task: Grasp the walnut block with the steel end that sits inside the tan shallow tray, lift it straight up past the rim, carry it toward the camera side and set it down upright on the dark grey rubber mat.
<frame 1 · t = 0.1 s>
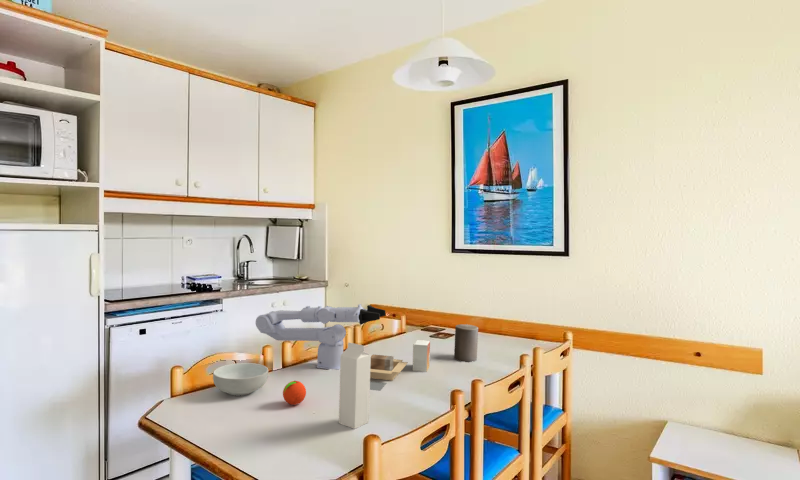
hand: (382, 314, 177), 22 cm above the table, tool horizontal, fingers open, 7 cm apart
clementine: (292, 405, 143), on the table
tan shallow tray: (380, 374, 174), on the table
cereal bowl: (240, 392, 152), on the table
block: (380, 373, 174), resting on tan shallow tray
pillar candle: (465, 359, 199), on the table
small box: (421, 370, 182), on the table
mat: (366, 386, 161), on the table
milk: (353, 423, 130), on the table
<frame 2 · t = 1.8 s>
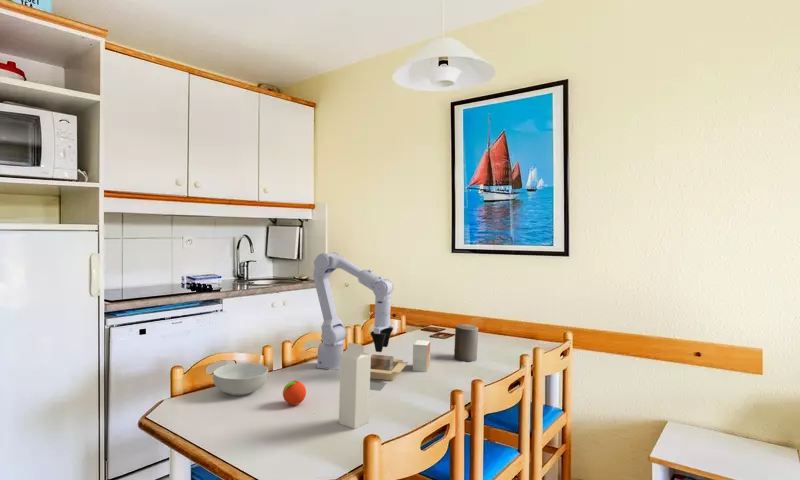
hand: (381, 349, 174), 9 cm above the table, tool pointing down, fingers open, 7 cm apart
nothing on the table moved.
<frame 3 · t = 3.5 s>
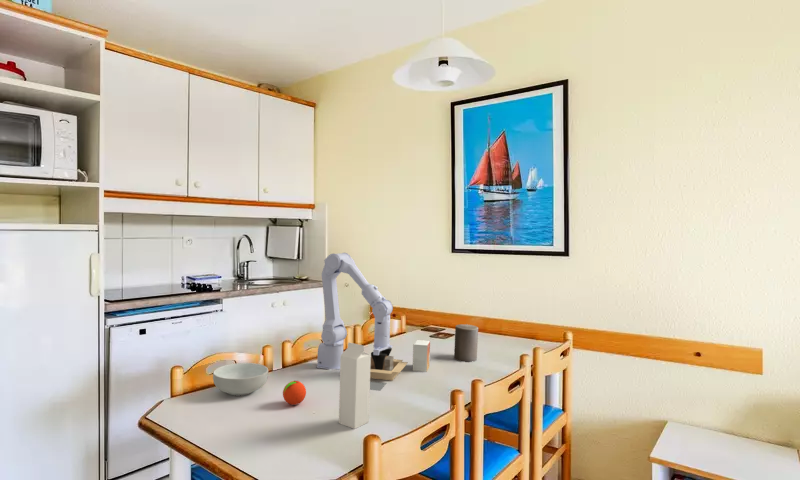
hand: (381, 369, 174), 2 cm above the table, tool pointing down, fingers closed on block, 5 cm apart
block: (380, 373, 174), resting on tan shallow tray, touching gripper
everything else where it was.
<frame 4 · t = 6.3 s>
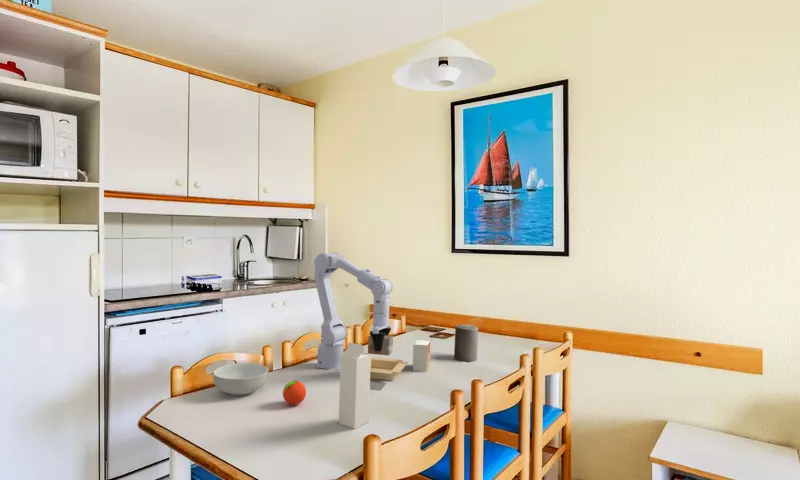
hand: (380, 349, 173), 10 cm above the table, tool pointing down, fingers closed on block, 5 cm apart
block: (380, 352, 173), point 8 cm above the table, touching gripper
everything else where it was.
when the fingers open (3 cm above the table, at t = 9.4 s): block stays where it is, resting on mat.
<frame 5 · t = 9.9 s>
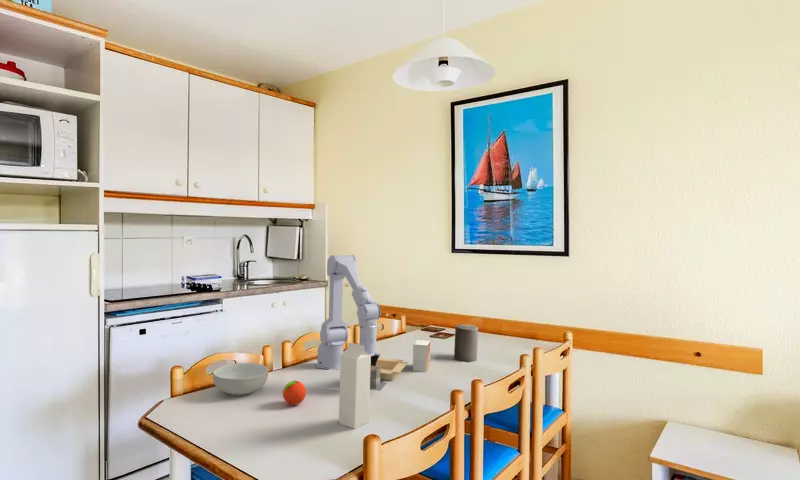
hand: (366, 378, 161), 3 cm above the table, tool pointing down, fingers open, 7 cm apart
block: (366, 384, 161), resting on mat
everything else where it was.
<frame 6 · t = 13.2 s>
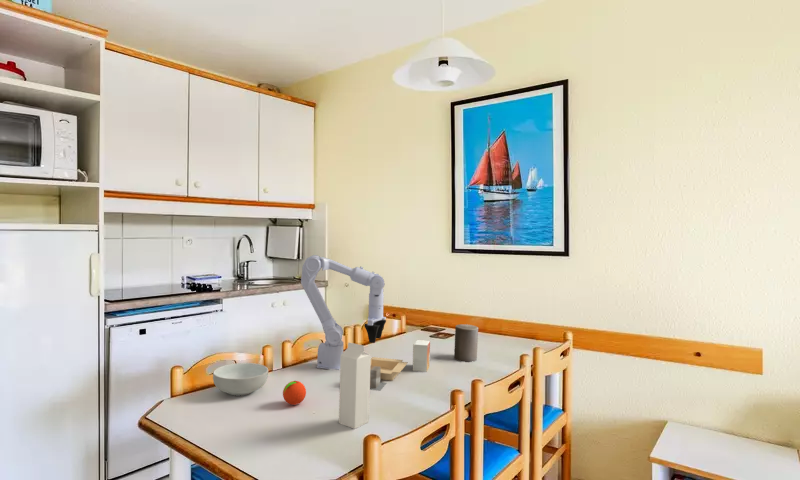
hand: (375, 340, 183), 10 cm above the table, tool pointing down, fingers open, 7 cm apart
nothing on the table moved.
at the end: block inside the target area on the mat (0.1 cm from its centre), point 0.4 cm above the mat's base; block tilted 0°; the gripper is holding nothing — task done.
